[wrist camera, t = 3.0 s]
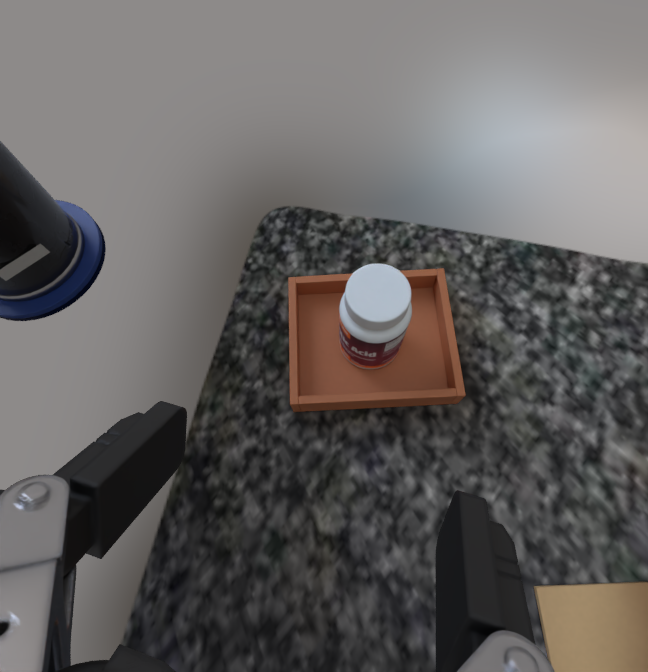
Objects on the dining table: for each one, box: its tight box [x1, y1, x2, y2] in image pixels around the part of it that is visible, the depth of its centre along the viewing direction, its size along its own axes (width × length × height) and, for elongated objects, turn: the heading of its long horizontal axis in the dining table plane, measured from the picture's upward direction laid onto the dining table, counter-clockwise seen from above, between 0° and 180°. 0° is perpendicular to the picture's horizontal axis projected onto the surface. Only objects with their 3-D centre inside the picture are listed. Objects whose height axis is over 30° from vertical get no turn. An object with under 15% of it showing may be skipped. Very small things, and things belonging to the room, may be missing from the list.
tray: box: [288, 269, 466, 412], centre depth 33 cm, size 12×10×2 cm
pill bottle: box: [339, 264, 412, 370], centre depth 30 cm, size 5×5×8 cm
